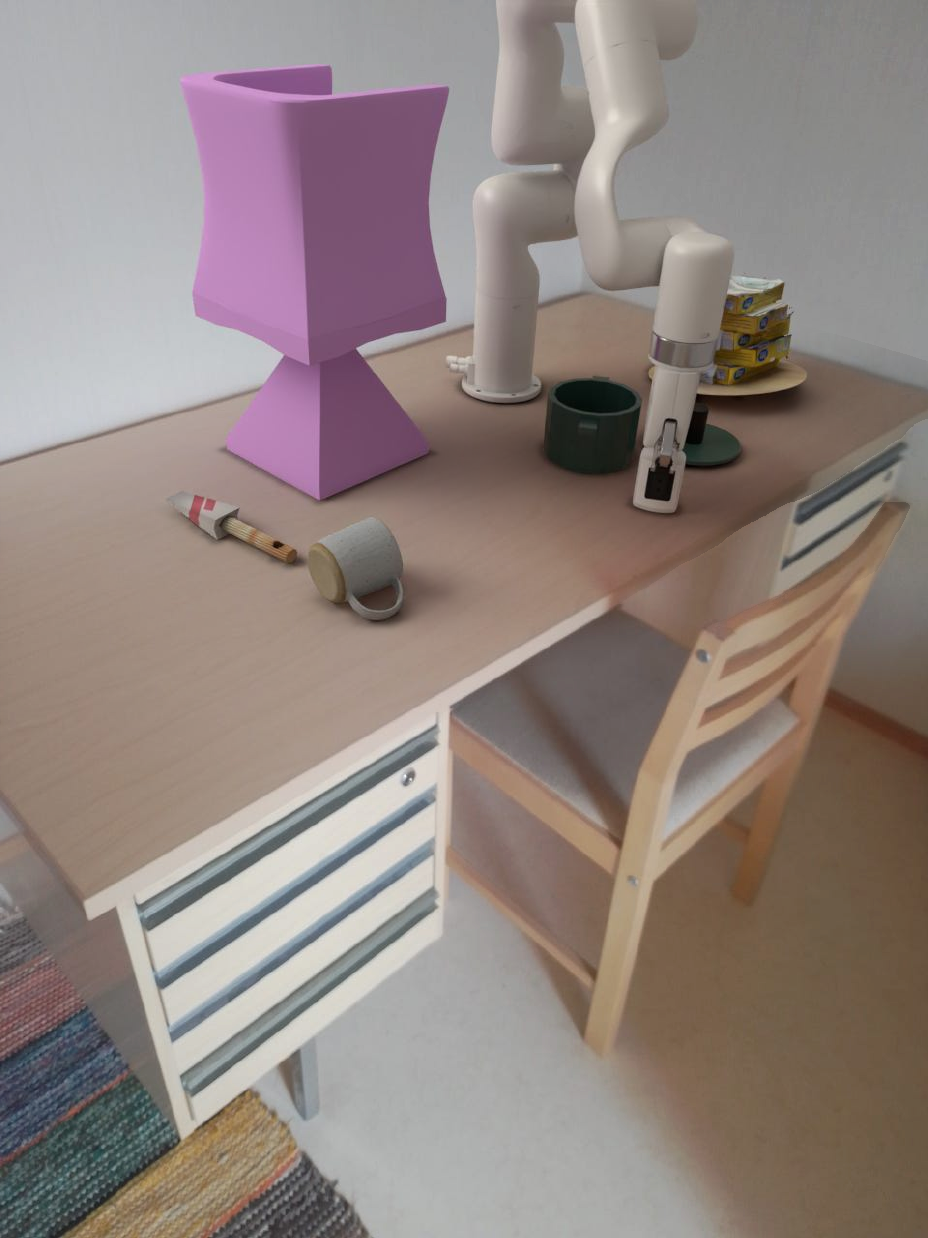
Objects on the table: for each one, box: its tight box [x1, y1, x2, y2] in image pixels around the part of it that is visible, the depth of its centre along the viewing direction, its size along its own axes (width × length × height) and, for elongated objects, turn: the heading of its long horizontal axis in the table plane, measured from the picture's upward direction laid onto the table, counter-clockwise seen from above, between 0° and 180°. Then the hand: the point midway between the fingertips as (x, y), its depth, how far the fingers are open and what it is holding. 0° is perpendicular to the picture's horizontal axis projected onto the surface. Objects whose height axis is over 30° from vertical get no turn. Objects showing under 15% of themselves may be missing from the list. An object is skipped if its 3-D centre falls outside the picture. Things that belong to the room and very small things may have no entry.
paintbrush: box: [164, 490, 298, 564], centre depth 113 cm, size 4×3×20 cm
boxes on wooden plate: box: [648, 272, 808, 398], centre depth 152 cm, size 25×25×17 cm
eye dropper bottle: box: [632, 425, 686, 514], centre depth 119 cm, size 4×6×12 cm
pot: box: [542, 375, 643, 475], centre depth 132 cm, size 13×18×8 cm
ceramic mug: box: [307, 516, 404, 621], centre depth 102 cm, size 11×8×8 cm
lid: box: [682, 402, 741, 467], centre depth 135 cm, size 14×14×6 cm
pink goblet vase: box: [179, 63, 450, 501], centre depth 118 cm, size 22×22×45 cm
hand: (658, 482), depth 121 cm, fingers open, 7 cm apart
